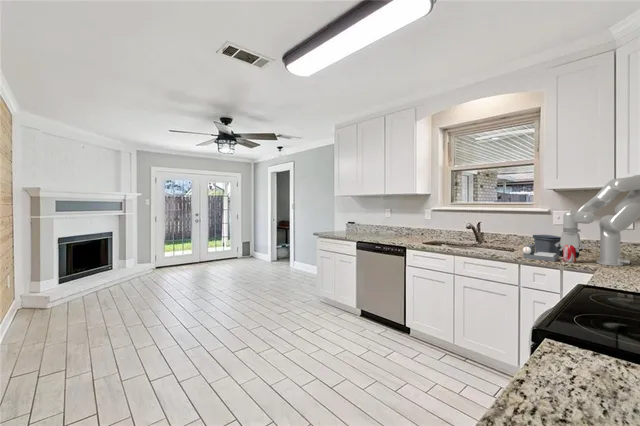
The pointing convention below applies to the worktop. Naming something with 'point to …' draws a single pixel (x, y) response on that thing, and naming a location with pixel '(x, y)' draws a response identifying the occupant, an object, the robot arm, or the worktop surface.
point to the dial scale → (538, 254)
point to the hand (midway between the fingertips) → (569, 257)
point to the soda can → (569, 254)
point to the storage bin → (547, 243)
